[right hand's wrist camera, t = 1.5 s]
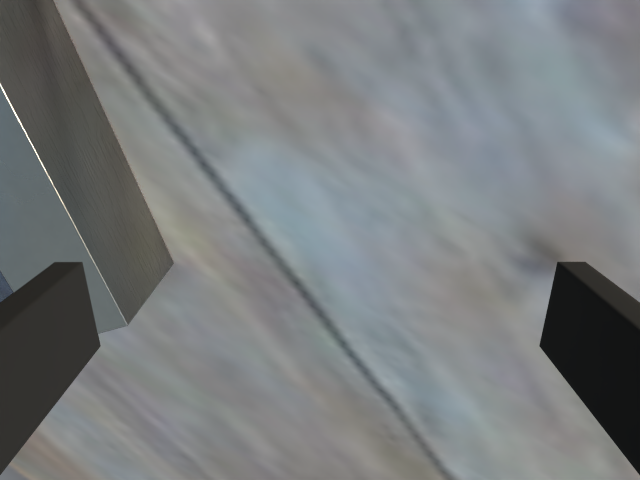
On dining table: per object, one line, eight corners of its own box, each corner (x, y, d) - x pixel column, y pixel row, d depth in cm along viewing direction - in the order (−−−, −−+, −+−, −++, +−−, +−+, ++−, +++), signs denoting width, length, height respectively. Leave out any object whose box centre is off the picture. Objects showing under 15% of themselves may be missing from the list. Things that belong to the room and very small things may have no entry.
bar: (174, 263, 33) (128, 326, 25) (111, 281, 34) (47, 348, 26) (-15, -148, 24) (-179, -253, 16) (-95, -115, 25) (-293, -201, 17)
